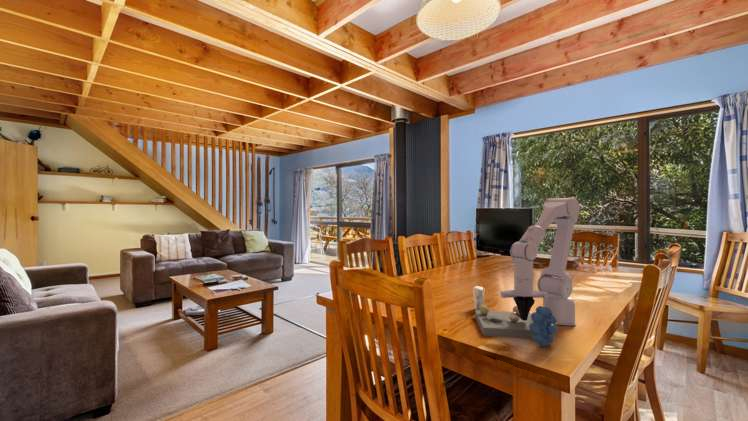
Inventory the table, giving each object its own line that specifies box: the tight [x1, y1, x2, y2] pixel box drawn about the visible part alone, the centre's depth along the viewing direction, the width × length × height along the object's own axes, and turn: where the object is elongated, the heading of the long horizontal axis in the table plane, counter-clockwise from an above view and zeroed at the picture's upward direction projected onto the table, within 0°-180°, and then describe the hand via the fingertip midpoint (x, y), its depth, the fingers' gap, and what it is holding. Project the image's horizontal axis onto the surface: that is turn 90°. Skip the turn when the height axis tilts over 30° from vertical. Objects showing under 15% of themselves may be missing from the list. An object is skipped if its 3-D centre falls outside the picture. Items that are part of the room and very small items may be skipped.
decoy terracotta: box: [512, 305, 520, 315], centre depth 114 cm, size 3×3×3 cm
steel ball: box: [509, 311, 520, 322], centre depth 107 cm, size 3×3×3 cm
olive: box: [479, 304, 490, 315], centre depth 115 cm, size 3×3×3 cm
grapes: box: [529, 305, 559, 348], centre depth 93 cm, size 12×7×12 cm, turn 122°
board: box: [474, 309, 533, 339], centre depth 109 cm, size 19×18×2 cm
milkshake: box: [472, 285, 486, 311], centre depth 128 cm, size 4×5×10 cm
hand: (523, 319), depth 107 cm, fingers closed
